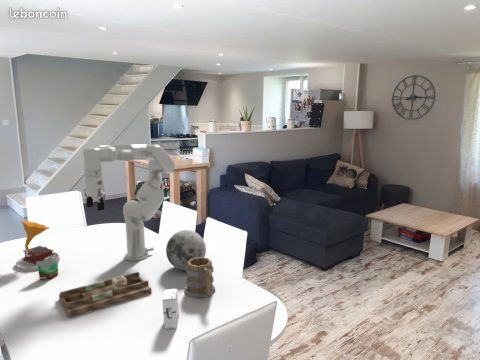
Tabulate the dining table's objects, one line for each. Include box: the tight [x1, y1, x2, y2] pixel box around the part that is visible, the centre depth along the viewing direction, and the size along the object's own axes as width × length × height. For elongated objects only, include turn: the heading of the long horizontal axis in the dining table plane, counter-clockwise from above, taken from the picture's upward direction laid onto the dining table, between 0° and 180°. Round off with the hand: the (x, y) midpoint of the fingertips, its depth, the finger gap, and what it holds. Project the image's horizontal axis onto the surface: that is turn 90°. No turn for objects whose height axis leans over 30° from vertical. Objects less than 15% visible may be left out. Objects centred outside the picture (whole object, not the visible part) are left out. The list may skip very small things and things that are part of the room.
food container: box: [36, 251, 61, 281], centre depth 177 cm, size 12×6×10 cm, turn 168°
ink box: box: [162, 288, 180, 330], centre depth 139 cm, size 9×5×12 cm, turn 5°
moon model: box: [165, 229, 207, 271], centre depth 186 cm, size 20×20×20 cm
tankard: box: [184, 257, 216, 299], centre depth 160 cm, size 20×13×15 cm, turn 23°
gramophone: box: [15, 219, 61, 272], centre depth 192 cm, size 20×20×25 cm
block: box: [111, 274, 127, 289], centre depth 162 cm, size 5×5×4 cm
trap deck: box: [58, 271, 153, 319], centre depth 159 cm, size 34×18×4 cm, turn 127°
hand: (95, 208), depth 178 cm, fingers open, 9 cm apart
